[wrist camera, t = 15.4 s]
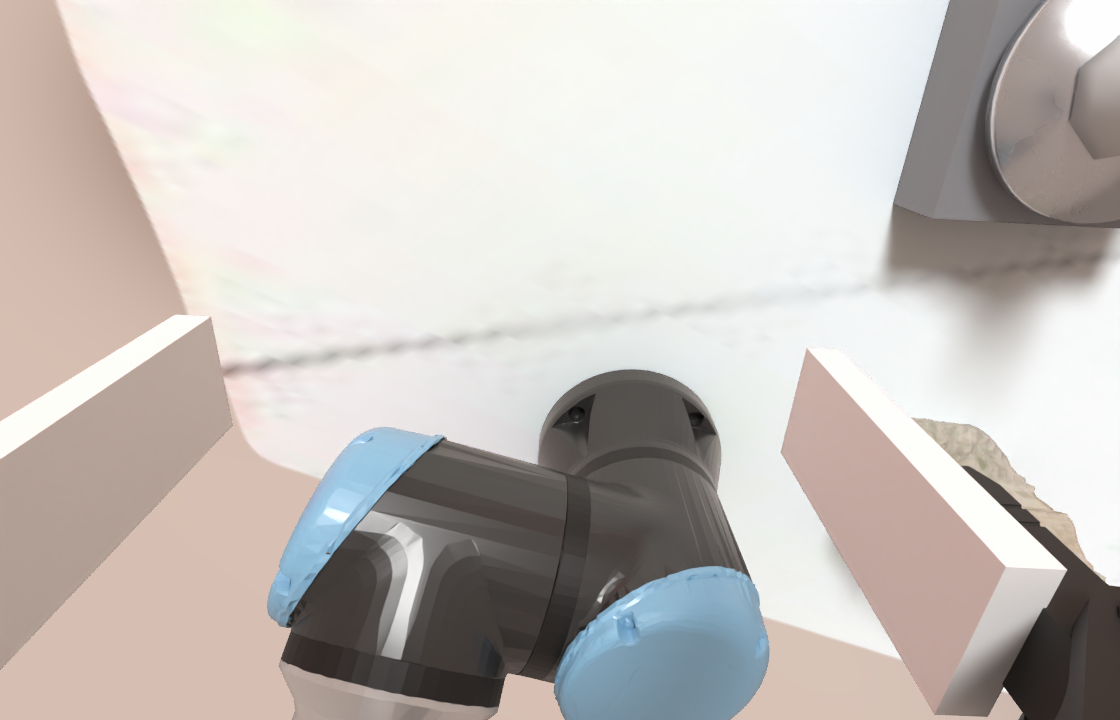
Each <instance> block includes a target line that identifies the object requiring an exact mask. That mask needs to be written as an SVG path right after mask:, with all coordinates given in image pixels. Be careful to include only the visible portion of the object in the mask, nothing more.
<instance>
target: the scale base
mask: <svg viewBox="0 0 1120 720" xmlns="http://www.w3.org/2000/svg"><path fill="white" fill-rule="evenodd" d="M1040 1H1041V0H950V2H949V6H948V10H947V13H946V17H945V20H944V24H943V28H942V31H941V35H940V38H939V42H938V45H937V49H936V53H935V56H934V60H933V63H932V67H931V71H930V74H929V78H928V81H927V85H926V88H925V92H924V96H923V99H922V103H921V106H920V110H919V114H918V117H917V121H916V124H915V128H914V131H913V135H912V139H911V142H910V146H909V149H908V153H907V157H906V160H905V164H904V167H903V171H902V174H901V178H900V182H899V185H898V189H897V192H896V196H895V200H894V203H893V204H895V205H897V206H900V207H903V208H905V209H908V210H911V211H913V212H916V213H919V214H921V215H924V216H927V217H929V218H932V219H949V220H969V221H988V222H1008V223H1027V224H1046V225H1066V226H1085V227H1105V228H1120V219H1119V220H1116V221H1109V222H1102V223H1074V222H1066V221H1062V220H1058V219H1055V218H1051V217H1048V216H1044V215H1041V214H1038V213H1036V212H1034V211H1032V210H1029V209H1027V208H1026V207H1024V206H1023V205H1021V204H1020V203H1018V202H1017V201H1016V200H1014V199H1013V198H1012V197H1011V196H1010V195H1009V194H1008V193H1007V192H1006V191H1005V189H1004V188H1003V186H1002V185H1001V183H1000V182H999V181H998V179H997V177H996V175H995V173H994V171H993V168H992V166H991V163H990V160H989V156H988V153H987V146H986V138H985V117H986V110H987V103H988V98H989V94H990V90H991V86H992V82H993V79H994V77H995V74H996V71H997V69H998V66H999V64H1000V61H1001V59H1002V57H1003V55H1004V53H1005V51H1006V49H1007V47H1008V45H1009V43H1010V42H1011V40H1012V39H1013V37H1014V35H1015V34H1016V32H1017V31H1018V29H1019V27H1020V26H1021V24H1022V23H1023V22H1024V20H1025V19H1026V18H1027V17H1028V15H1029V14H1030V13H1031V11H1032V10H1033V9H1034V8H1035V6H1036V5H1037V4H1038V3H1039V2H1040Z"/></svg>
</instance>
